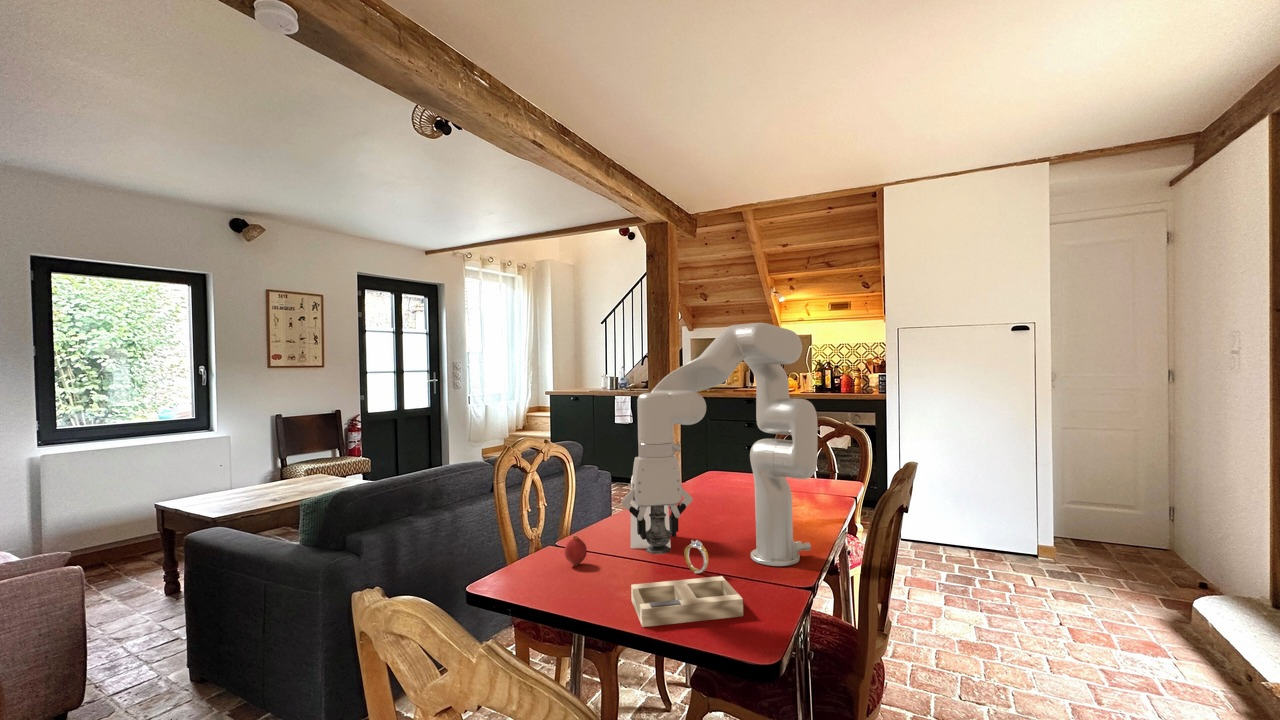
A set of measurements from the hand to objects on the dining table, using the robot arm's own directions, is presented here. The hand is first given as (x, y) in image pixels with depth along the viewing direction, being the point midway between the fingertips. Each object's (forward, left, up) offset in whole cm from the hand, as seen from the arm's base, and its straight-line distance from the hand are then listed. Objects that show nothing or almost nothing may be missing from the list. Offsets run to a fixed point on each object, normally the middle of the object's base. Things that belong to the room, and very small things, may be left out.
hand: (657, 535), depth 117 cm
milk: (-8, -47, -16) cm, 50 cm away
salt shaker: (0, 0, -3) cm, 3 cm away
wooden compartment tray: (-6, 0, -16) cm, 17 cm away
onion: (+15, -32, -16) cm, 39 cm away
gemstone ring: (-14, -19, -16) cm, 28 cm away
